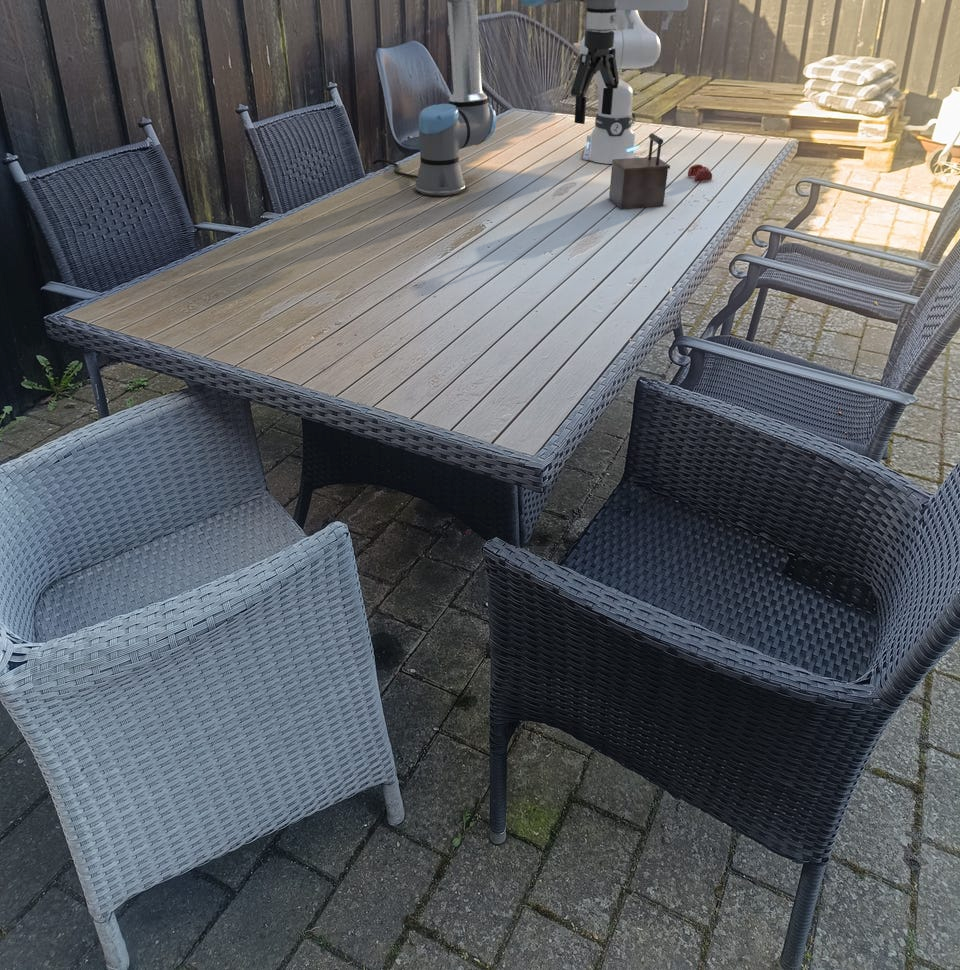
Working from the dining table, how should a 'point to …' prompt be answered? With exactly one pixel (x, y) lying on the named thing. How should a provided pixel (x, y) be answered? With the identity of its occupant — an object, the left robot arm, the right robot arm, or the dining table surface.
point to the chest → (637, 187)
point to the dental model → (700, 173)
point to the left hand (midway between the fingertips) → (593, 118)
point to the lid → (644, 159)
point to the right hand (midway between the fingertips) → (647, 29)
